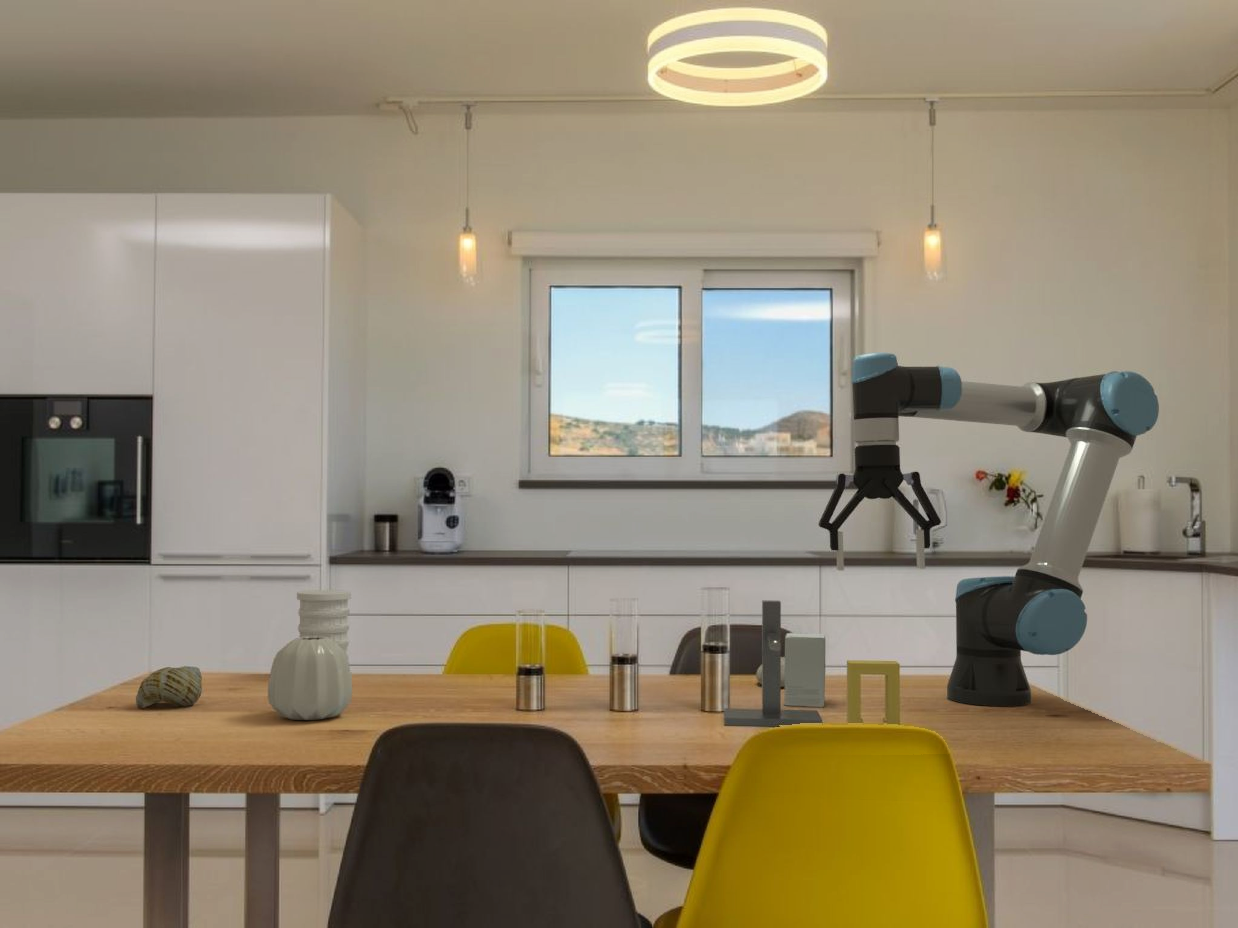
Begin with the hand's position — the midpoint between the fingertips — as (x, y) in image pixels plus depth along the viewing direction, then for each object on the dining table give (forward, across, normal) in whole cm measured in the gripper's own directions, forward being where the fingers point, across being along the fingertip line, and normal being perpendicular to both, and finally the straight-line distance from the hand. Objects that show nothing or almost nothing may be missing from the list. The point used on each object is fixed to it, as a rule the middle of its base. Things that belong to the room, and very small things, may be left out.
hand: (880, 569), depth 193 cm
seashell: (+22, +125, -5) cm, 127 cm away
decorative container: (+23, +108, -37) cm, 116 cm away
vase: (+23, +97, +4) cm, 100 cm away
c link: (+26, +4, +8) cm, 27 cm away
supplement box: (+26, +12, -17) cm, 33 cm away
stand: (+25, +19, +5) cm, 32 cm away
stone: (+26, +13, -39) cm, 48 cm away
